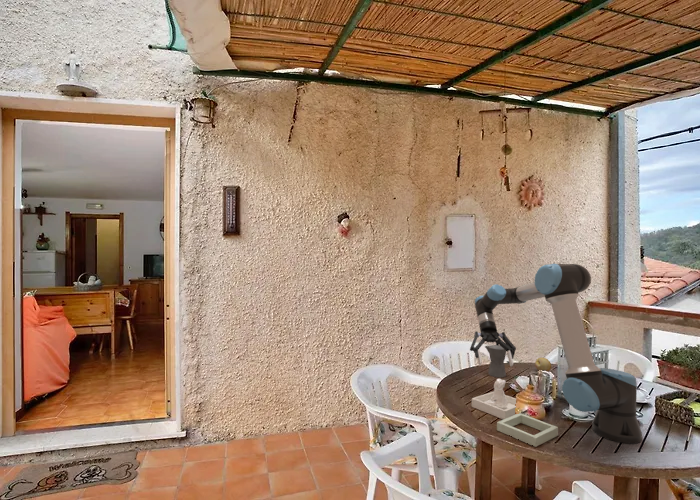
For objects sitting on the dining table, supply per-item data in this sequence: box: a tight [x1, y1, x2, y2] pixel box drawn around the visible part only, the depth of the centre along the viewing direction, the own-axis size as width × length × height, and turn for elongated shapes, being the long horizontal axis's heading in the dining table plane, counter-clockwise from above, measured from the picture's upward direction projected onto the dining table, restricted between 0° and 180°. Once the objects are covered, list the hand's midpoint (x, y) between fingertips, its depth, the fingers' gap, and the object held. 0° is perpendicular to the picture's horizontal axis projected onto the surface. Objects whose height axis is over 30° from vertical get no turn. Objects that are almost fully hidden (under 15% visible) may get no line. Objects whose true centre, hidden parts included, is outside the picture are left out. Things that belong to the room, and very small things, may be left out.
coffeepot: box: [484, 342, 516, 379], centre depth 211 cm, size 15×9×18 cm, turn 59°
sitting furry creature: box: [485, 378, 508, 409], centre depth 166 cm, size 10×9×12 cm
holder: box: [496, 413, 559, 448], centre depth 144 cm, size 15×15×3 cm
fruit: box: [534, 357, 552, 372], centre depth 218 cm, size 8×8×8 cm
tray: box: [471, 390, 517, 420], centre depth 166 cm, size 16×16×4 cm
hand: (496, 364), depth 174 cm, fingers open, 13 cm apart
